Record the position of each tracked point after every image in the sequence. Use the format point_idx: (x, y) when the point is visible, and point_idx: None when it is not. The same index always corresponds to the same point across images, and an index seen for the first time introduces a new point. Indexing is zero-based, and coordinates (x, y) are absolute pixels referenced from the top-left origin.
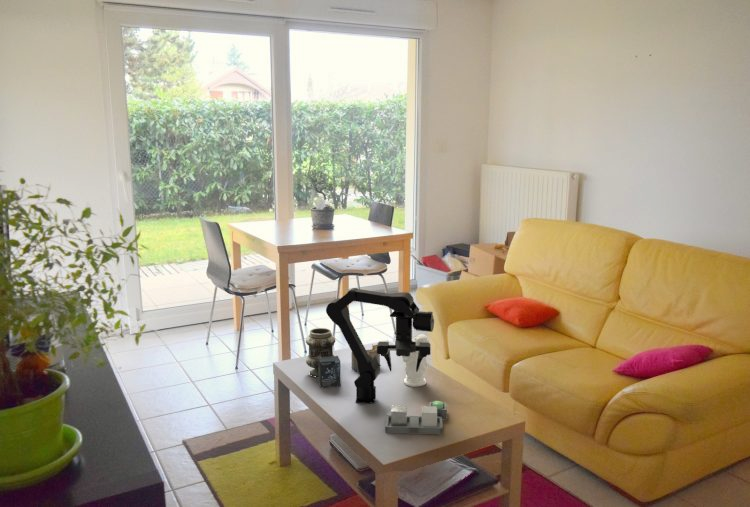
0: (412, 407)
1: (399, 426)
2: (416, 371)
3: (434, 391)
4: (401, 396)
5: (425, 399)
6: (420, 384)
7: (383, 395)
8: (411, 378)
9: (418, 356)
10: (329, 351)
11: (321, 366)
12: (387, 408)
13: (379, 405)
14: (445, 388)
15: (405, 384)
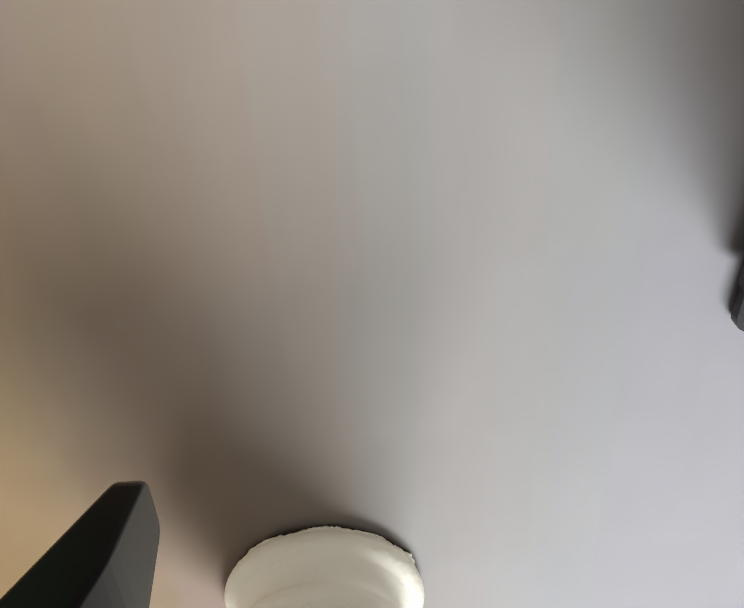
0: (290, 72)
1: None
2: (133, 485)
3: (117, 468)
4: (438, 342)
5: (169, 301)
6: (265, 552)
7: (629, 345)
8: (352, 605)
9: None
10: None
11: None
12: (623, 5)
13: (715, 90)
14: (31, 526)
15: (406, 552)
